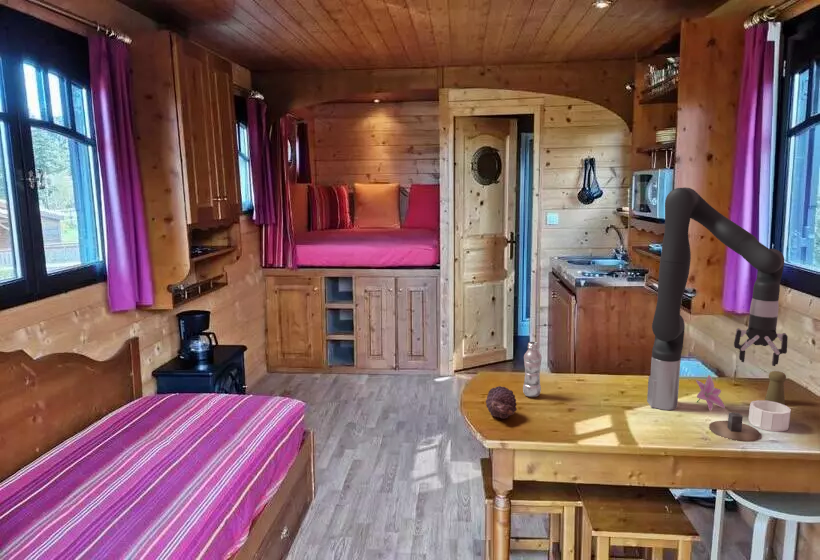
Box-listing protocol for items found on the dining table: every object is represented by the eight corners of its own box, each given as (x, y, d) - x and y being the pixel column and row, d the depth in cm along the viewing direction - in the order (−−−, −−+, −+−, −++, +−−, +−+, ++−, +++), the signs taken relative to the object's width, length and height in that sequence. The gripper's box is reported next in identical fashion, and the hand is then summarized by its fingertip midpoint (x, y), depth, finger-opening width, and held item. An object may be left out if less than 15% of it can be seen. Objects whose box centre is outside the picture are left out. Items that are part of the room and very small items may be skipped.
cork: (787, 405, 207) (790, 375, 205) (768, 404, 208) (771, 374, 207) (780, 399, 213) (783, 369, 211) (762, 398, 214) (765, 368, 212)
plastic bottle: (543, 394, 219) (545, 342, 216) (536, 400, 213) (538, 346, 210) (526, 391, 223) (528, 339, 219) (519, 397, 217) (521, 344, 213)
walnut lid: (718, 441, 181) (720, 422, 180) (702, 422, 194) (704, 405, 193) (768, 443, 179) (769, 424, 178) (748, 424, 193) (750, 407, 192)
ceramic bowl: (757, 430, 187) (759, 412, 186) (743, 416, 198) (744, 399, 197) (795, 432, 186) (797, 414, 185) (778, 418, 196) (780, 401, 195)
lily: (689, 412, 204) (704, 393, 199) (678, 389, 214) (693, 370, 209) (720, 422, 205) (737, 403, 200) (709, 398, 215) (724, 379, 210)
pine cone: (480, 406, 208) (480, 379, 207) (507, 405, 209) (508, 377, 208) (492, 427, 191) (493, 397, 189) (522, 425, 192) (523, 396, 190)
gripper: (738, 313, 184) (733, 363, 187) (792, 318, 179) (786, 370, 182) (736, 308, 191) (731, 357, 194) (788, 313, 185) (782, 363, 188)
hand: (758, 363), depth 188 cm, fingers open, 8 cm apart
